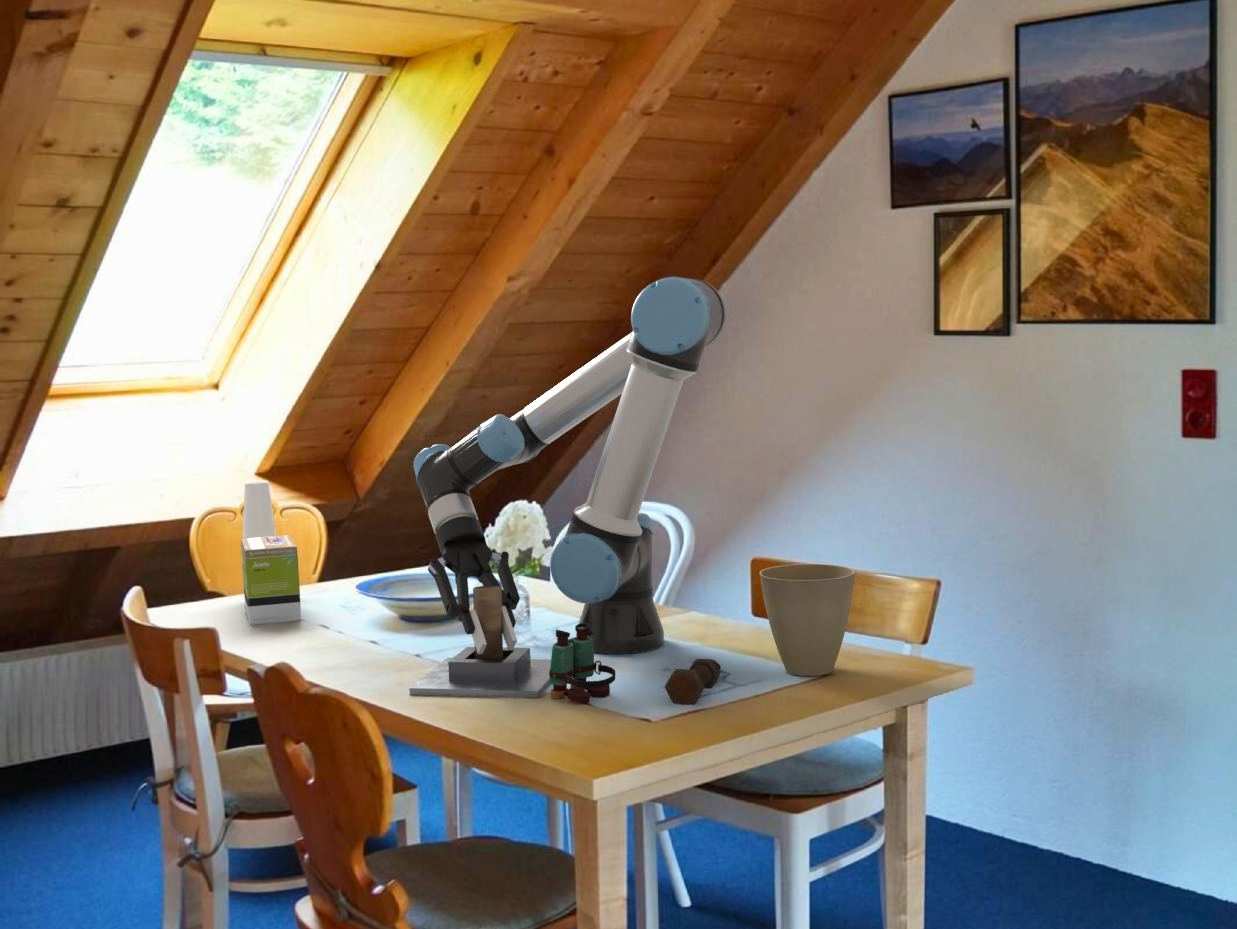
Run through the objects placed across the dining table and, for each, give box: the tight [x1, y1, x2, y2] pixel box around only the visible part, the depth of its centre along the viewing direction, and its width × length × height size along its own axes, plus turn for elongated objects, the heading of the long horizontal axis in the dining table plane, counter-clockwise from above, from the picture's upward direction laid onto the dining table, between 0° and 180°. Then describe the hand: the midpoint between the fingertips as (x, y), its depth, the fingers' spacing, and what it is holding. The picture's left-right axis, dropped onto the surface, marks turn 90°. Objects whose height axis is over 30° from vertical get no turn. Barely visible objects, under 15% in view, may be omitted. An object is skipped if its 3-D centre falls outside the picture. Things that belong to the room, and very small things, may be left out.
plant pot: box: [759, 563, 856, 677], centre depth 232 cm, size 15×15×16 cm
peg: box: [472, 585, 504, 660], centre depth 231 cm, size 4×4×12 cm
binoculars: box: [549, 622, 616, 705], centre depth 220 cm, size 9×11×10 cm
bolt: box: [664, 658, 722, 706], centre depth 222 cm, size 6×5×15 cm
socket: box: [408, 646, 552, 699], centre depth 232 cm, size 20×20×4 cm
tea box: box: [240, 534, 302, 626], centre depth 285 cm, size 15×10×15 cm
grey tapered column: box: [242, 480, 277, 539], centre depth 304 cm, size 7×7×24 cm
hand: (497, 646), depth 228 cm, fingers closed on peg, 4 cm apart
